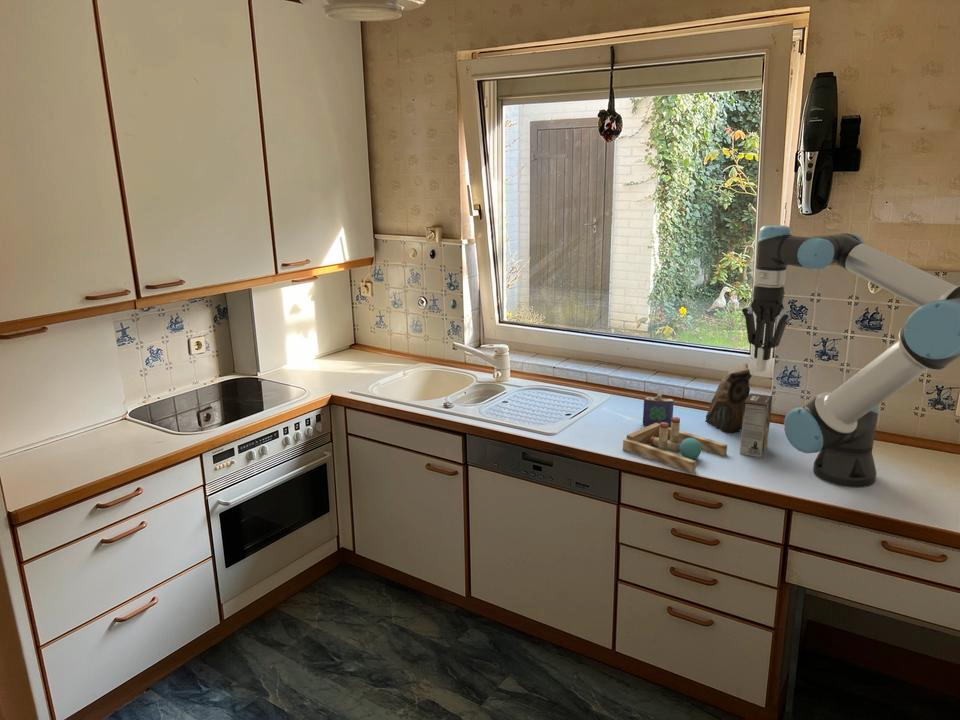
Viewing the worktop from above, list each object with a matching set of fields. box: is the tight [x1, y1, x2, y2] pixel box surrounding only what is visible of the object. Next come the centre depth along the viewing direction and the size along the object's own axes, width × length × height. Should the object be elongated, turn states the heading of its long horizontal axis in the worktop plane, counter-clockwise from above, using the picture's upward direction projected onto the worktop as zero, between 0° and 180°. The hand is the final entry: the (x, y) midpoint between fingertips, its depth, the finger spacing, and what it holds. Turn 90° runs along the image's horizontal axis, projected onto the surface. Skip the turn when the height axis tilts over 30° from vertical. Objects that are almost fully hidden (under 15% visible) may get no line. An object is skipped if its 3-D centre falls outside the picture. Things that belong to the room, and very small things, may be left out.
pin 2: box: [669, 416, 681, 444], centre depth 215 cm, size 2×2×9 cm
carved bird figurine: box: [704, 362, 752, 435], centre depth 228 cm, size 13×13×20 cm
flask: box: [642, 393, 675, 428], centre depth 232 cm, size 9×3×11 cm, turn 78°
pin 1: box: [657, 422, 669, 451], centre depth 211 cm, size 2×2×9 cm
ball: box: [679, 438, 703, 460], centre depth 207 cm, size 6×6×6 cm
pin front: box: [649, 436, 681, 452], centre depth 215 cm, size 2×2×9 cm
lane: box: [622, 423, 728, 474], centre depth 212 cm, size 23×18×4 cm
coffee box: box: [739, 392, 773, 458], centre depth 211 cm, size 9×6×16 cm
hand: (760, 370), depth 199 cm, fingers closed
